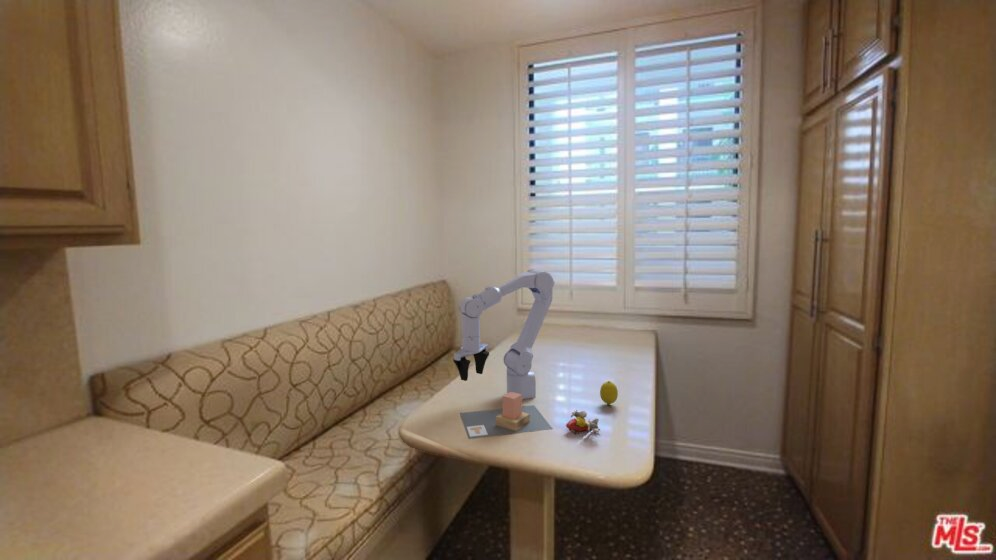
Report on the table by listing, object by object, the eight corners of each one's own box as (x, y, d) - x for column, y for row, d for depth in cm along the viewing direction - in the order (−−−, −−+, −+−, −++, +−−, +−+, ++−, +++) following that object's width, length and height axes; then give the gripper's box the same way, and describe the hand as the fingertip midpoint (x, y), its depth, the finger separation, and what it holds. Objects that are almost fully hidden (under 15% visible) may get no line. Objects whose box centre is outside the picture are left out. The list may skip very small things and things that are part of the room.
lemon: (618, 402, 144) (618, 379, 143) (616, 409, 138) (617, 384, 138) (600, 400, 145) (601, 377, 145) (598, 407, 140) (599, 383, 139)
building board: (534, 407, 140) (534, 404, 140) (552, 431, 124) (552, 428, 124) (459, 415, 135) (459, 412, 135) (468, 441, 119) (468, 438, 118)
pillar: (510, 411, 130) (510, 391, 129) (521, 414, 128) (521, 394, 127) (502, 415, 127) (502, 395, 126) (514, 419, 124) (514, 399, 124)
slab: (510, 416, 132) (510, 408, 132) (529, 422, 128) (529, 414, 128) (496, 424, 127) (496, 416, 126) (516, 431, 123) (516, 422, 122)
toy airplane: (564, 436, 121) (565, 414, 120) (572, 422, 130) (573, 402, 129) (597, 442, 118) (598, 419, 117) (604, 428, 126) (604, 407, 125)
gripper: (476, 329, 147) (476, 368, 149) (446, 338, 136) (447, 380, 137) (492, 332, 143) (493, 372, 145) (463, 341, 131) (464, 385, 133)
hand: (471, 376), depth 141 cm, fingers open, 7 cm apart
